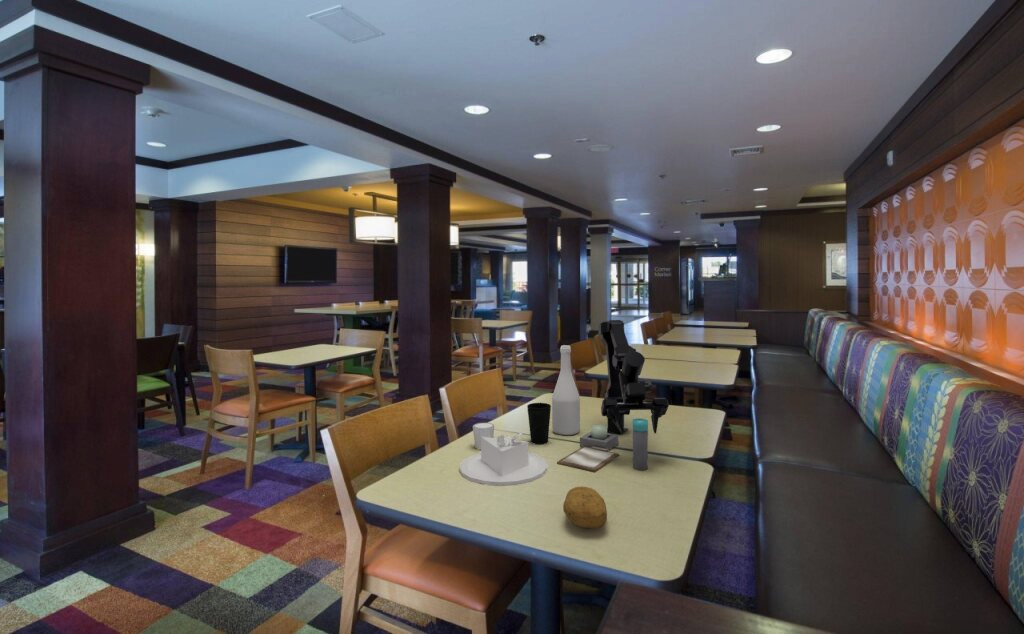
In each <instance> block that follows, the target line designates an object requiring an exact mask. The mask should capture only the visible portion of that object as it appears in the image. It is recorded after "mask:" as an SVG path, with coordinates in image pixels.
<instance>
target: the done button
mask: <svg viewBox="0 0 1024 634" xmlns="http://www.w3.org/2000/svg"><path fill="white" fill-rule="evenodd" d="M590 432H591V438H594V439H599V440H605V439H607V433H608V432H607V425H604V424H593V425H591V426H590Z"/></svg>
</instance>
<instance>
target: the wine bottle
mask: <svg viewBox="0 0 1024 634" xmlns="http://www.w3.org/2000/svg"><path fill="white" fill-rule="evenodd" d="M559 352H560V370H559V375H558V377H557V382H556V384H555V388H554V390H553V393H552V397H551V399H552V400H551V415H552V416H551V418H552V421H551V423H552V424H551V425H552V427H551V428H552V431H553V433H555V434H557V435H561V436H572V435H573V436H575V435H578V433H580V430H581V399H580V394H579V391H578V388H577V385H576V383H575V379H574V376H573V374H572V367H571V364H572V363H571V362H572V361H571V353H572V347H571V345H565V344H563V345H561V346H560V349H559Z"/></svg>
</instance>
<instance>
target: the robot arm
mask: <svg viewBox="0 0 1024 634" xmlns="http://www.w3.org/2000/svg"><path fill="white" fill-rule="evenodd" d="M597 330H598V332H597V333H598V335H599V336H600V342H602V344H603V346H605V353H606V354H605V355H606V364H607V377H608V379H607V380H608V388H607V390H606V391H605V394H604V399H603V400H602V403H601V405H600V406H601V407H600V413H601V416H602V417H606V418H607V423H606V424H607V425H606V426H607V433H610V434H615V435H623V434H624V433H626V432H627V431H628V430H629V428H627V427H625V415H626V416H630V415H631V411H650V413H651V416H650V419H651V426H652V431H653V433H654V435H656V434H657V430H658V424H659V419H660V418H662V417H663V416H665V415H667V411H668V408H669V406H670V404H669V401H668V399H667V398H666V397H652V400H651V402H644V401H646V395H647V393H648V394H650V393H652V392H653V384H652V381H651V380H644V381H643V382H640V377H639V376H640V375H642V374H641V373H642V370H643V369H644V368H643V367H644V364H645V361H646V360H645V356H644V355H643V354H642V353H641V352H639V351H637V349H636V348H635V347H632V346H631V345H629V341H628V339H627V335H626V332H625V322H624V320H621V319H610V320H607V321H602V322H600V323H598V328H597Z"/></svg>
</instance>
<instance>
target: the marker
mask: <svg viewBox="0 0 1024 634" xmlns="http://www.w3.org/2000/svg"><path fill="white" fill-rule="evenodd" d="M648 436H649V420H648V419H646V418H634V419H632V468H633V470H636V471H641V472H642V471H643V472H644V471H647V470H648V465H649V464H648V462H649V461H648V460H649V459H648V458H649V457H648V455H649V453H648V452H649V451H648V450H649V449H648V447H649V445H648V444H649V437H648Z"/></svg>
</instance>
